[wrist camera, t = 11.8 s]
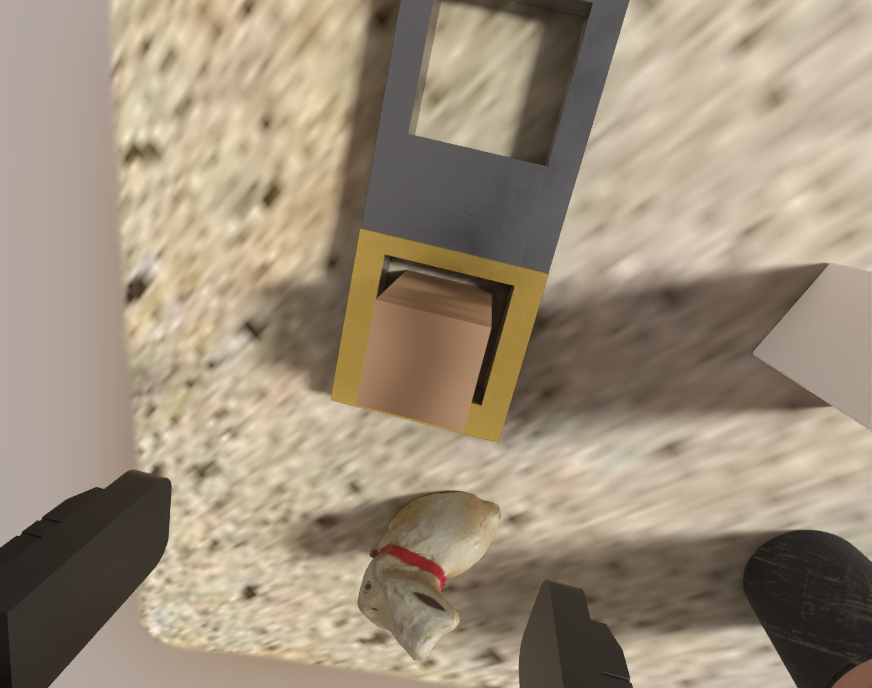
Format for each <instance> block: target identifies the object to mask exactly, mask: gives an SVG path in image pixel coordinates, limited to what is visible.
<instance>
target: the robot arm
mask: <svg viewBox="0 0 872 688" xmlns="http://www.w3.org/2000/svg"><path fill="white" fill-rule="evenodd" d="M171 489H172V486H171V482H170V480H169V479H168V478H164V477H161V476H157V475H153V474H149V473H145V472H142V471H138V470H130V471H127V472H126V473H125V474H123V475H122V476H121V477H119V478H118V479H117V480H115V481H114V482H113V483H112V484H110V485H109V486H108V487H106V488H105V489H102V488H98V487H95V488H93V489H90V490H88V491H86V492H83V493H81V494H78V495H76V496H73V497H71V498H69V499H66V500H65V501H64V502H62V503H61V504H60V505H58V506H57V507H55V508H54V509H53V510H51V511H50V512H48V513H47V514H46V515H44V516H43V517H42V520H41V521H36V522H35V523H34V524H32V525H31V526H29V527H28V528H27V529H25V530H24V531H23V532H22V534H21V535H20V536H16V537H14V538H13V539H11V540H10V541H9V542H7V543H6V544H5V545H3V546H2V547H0V688H48V687H49V686H50V685H51V684H52V682H53V681H54V680H55V679H56V678H57V677H58V676H59V675H60V674H61V672H62V671H63V670H64V669H65V668H66V667H67V666H68V665H69V664H70V662H71V661H72V660H73V659H74V658H75V657H76V656H77V655H78V653H79V652H80V651H81V650H82V649H83V648H84V647H85V645H86V644H87V643H88V642H89V641H90V640H91V639H92V638H93V636H95V634H96V633H97V632H98V631H99V630H100V629H101V628H102V627H103V625H104V624H105V623H106V622H107V621H108V620H109V619H110V618H111V617H112V615H113V614H114V613H115V612H116V611H117V610H118V609H119V608H120V606H121V605H122V604H123V603H124V602H125V601H126V600H127V599H128V598H129V596H130V595H131V594H132V593H133V592H134V591H135V590H136V589H137V587H138V586H139V585H140V584H141V583H142V582H143V581H144V580H145V579H146V577H147V576H148V575H149V574H150V573H151V572H152V571H153V569H154V568H155V567H156V566H157V564H158V563H159V561H160V559H161V557H162V556H163V553H164V551H165V549H166V546H167V542H168V537H169V522H170V506H171ZM519 684H520V688H633V686H632V683H630V676H629V672H628V668H627V665H626V661H625V657H624V654H623V650H622V648H621V647H620V645H619V644H618V642H617V641H616V639H615V638H614V636H613V635H612V633H611V631H610V630H609V628H608V627H607V625H606V624H603V623H599V622H596V621H592V620H590V616H589V611H588V607H587V602H586V597H585V594H584V591H583V590H582V589H580V588H576V587H572V586H568V585H564V584H561V583H557V582H553V581H549V580H545V581H544V582H543V583H542V585H541V588H540V591H539V593H538V596H537V599H536V602H535V604H534V607H533V610H532V613H531V615H530V618H529V621H528V624H527V626H526V629H525V632H524V635H523V638H522V643H521V648H520V656H519Z"/></svg>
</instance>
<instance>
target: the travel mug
mask: <svg viewBox="0 0 872 688" xmlns="http://www.w3.org/2000/svg"><path fill="white" fill-rule="evenodd" d="M743 584H744V590H745V593H746V596H747V598H748V600H749V602H750V604H751V606H752V608H753V610H754V612H755V613H756V615H757V617H758V619H759V621H760V622H761V624H762V626H763V628H764V629H765V631H766V633H767V635H768V636H769V638H770V640H771V642H772V644H773V645H774V647H775V649H776V651H777V652H778V654H779V656H780V658H781V659H782V661H783V663H784V665H785V666H786V668H787V670H788V672H789V673H790V675H791V677H792V679H793V681H794V682H795V684H796V686H797V688H872V562H871V561H870V560H869V559H868V558H867V557H866V556H865V555H863V554H862V553H861V552H860V551H859V550H858V549H857V548H855V547H854V546H853V545H852V544H850V543H849V542H848V541H846V540H844V539H843V538H841V537H838V536H836V535H833V534H830V533H827V532H821V531H798V532H793V533H788V534H785V535H782V536H779V537H777V538H775V539H773V540H771V541H769V542H768V543H766V544H765V545H763V546H762V547H761V548H760V549H759V550H758V551H757V552H756V553H755V554H754V555H753V556H752V557H751V559H750V560H749V562H748V564H747V566H746V569H745V572H744V578H743Z"/></svg>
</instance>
